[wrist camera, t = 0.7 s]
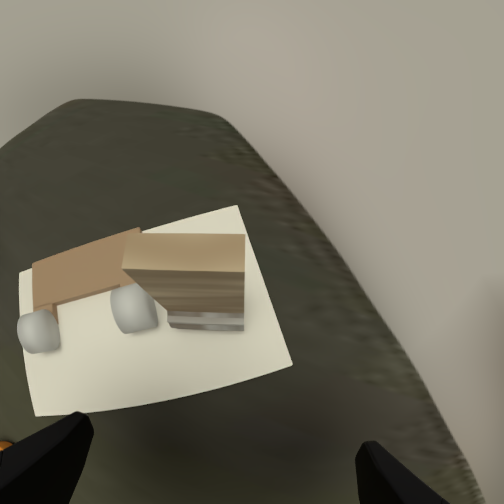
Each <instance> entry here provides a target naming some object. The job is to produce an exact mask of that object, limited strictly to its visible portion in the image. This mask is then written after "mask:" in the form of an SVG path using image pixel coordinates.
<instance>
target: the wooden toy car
mask: <svg viewBox="0 0 504 504" xmlns="http://www.w3.org/2000/svg"><path fill="white" fill-rule="evenodd" d="M121 269H122V270H123V271H124V272H125V273H126V274H128V275H129V276H130V277H131V278H132V279H133V280H134V281H135V282H136V283H137V284H138V285H139V286H140V287H141V288H142V289H143V290H145V291H146V292H147V293H148V294H149V295H150V296H151V297H152V298H153V299H154V300H156V301H157V302H158V303H159V304H160V305H161V306H162V307H163V308H165V309H166V310H167V322H168V323H169V325H170V327H171V328H177V329H192V330H216V331H244V288H245V234H205V233H128V235H127V240H126V245H125V251H124V256H123V262H122V268H121Z"/></svg>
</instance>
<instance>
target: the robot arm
mask: <svg viewBox="0 0 504 504" xmlns="http://www.w3.org/2000/svg"><path fill="white" fill-rule="evenodd" d="M93 435H94V429H93V426H92V424H91V421H90V419H89V416H88V415H87V414H85V413H82V412H80V411H75V412H73V413H71V414H70V415H68V416H66V417H64V418H62V419H61V420H59V421H57V422H55V423H53V424H51V425H49V426H48V427H46V428H44V429H42V430H40V431H38V432H36V433H34V434H32V435H31V436H29V437H27V438H25V439H23V440H21V441H19V442H17V443H15V444H13V445H11V446H9V447H7V448H5V449H3V450H1V451H0V504H69V502H70V499H71V497H72V495H73V492H74V490H75V487H76V485H77V483H78V480H79V478H80V475H81V473H82V471H83V468H84V465H85V462H86V458H87V455H88V452H89V448H90V445H91V442H92V438H93ZM355 464H356V474H357V485H358V495H359V501H360V504H450V503H449V502H448V501H446V500H445V499H444V498H442V497H441V496H440V495H439V494H437V493H436V492H435V491H434V490H433V489H431V488H430V487H429V486H428V485H426V484H425V483H424V482H423V481H422V480H420V479H419V478H418V477H417V476H416V475H415V474H413V473H412V472H411V471H410V470H409V469H408V468H406V467H405V466H404V465H403V464H402V463H401V462H399V461H398V460H397V459H396V458H395V457H394V456H393V455H391V454H390V453H389V452H388V451H387V450H386V449H385V448H384V447H382V446H381V445H380V444H379V443H378V442H377V441H367V442H364V443H363V444H362V445H361V447H360V449H359V451H358V453H357V455H356V458H355Z"/></svg>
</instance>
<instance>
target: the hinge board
mask: <svg viewBox="0 0 504 504" xmlns="http://www.w3.org/2000/svg"><path fill="white" fill-rule="evenodd" d="M128 233H205V234H245V288H244V331H216V330H192V329H177V328H171V327H170V325H169V323H168V322H167V310H166V309H165V308H163V307H162V306H161V305H160V304H159V303H158V302H157V301H156V300H154V299H153V298H152V297H151V296H150V295H149V294H148V293H147V292H146V291H145V290H143V289H142V288H141V287H140V286H139V285H138V284H137V283H136V282H135V281H134V280H133V279H132V278H131V277H130V276H129V275H128V274H126V273H125V272H124V271H123V270H122V269H121V268H122V262H123V256H124V251H125V245H126V240H127V235H128ZM19 304H20V318H19V320H18V324H17V332H18V337H19V340H20V342H21V344H22V346H23V353H24V360H25V367H26V373H27V379H28V384H29V390H30V394H31V399H32V403H33V408H34V412H35V416H52V415H67V414H71V413H73V412H75V411H80V412H82V413H89V412H98V411H106V410H113V409H120V408H127V407H133V406H139V405H145V404H150V403H156V402H161V401H166V400H171V399H175V398H180V397H184V396H189V395H193V394H197V393H201V392H205V391H209V390H213V389H217V388H221V387H224V386H228V385H232V384H235V383H239V382H242V381H245V380H249V379H252V378H255V377H258V376H262V375H265V374H268V373H271V372H274V371H277V370H280V369H283V368H286V367H289V366H292V365H293V364H292V361H291V358H290V355H289V352H288V350H287V347H286V344H285V341H284V338H283V335H282V332H281V329H280V327H279V324H278V321H277V318H276V315H275V312H274V309H273V307H272V304H271V301H270V298H269V295H268V292H267V289H266V286H265V284H264V281H263V278H262V275H261V272H260V269H259V266H258V264H257V261H256V258H255V255H254V252H253V249H252V246H251V244H250V241H249V238H248V235H247V232H246V229H245V226H244V224H243V221H242V218H241V215H240V212H239V209H238V206H237V205H235V206H231V207H227V208H223V209H220V210H216V211H212V212H208V213H205V214H201V215H197V216H194V217H190V218H187V219H183V220H179V221H176V222H172V223H169V224H166V225H162V226H159V227H155V228H152V229H149V230H145V231H141V229H140V228H139V227H138V228H135V229H131V230H128V231H125V232H122V233H119V234H116V235H112V236H109V237H106V238H103V239H100V240H97V241H94V242H91V243H88V244H85V245H82V246H79V247H76V248H73V249H71V250H68V251H65V252H62V253H59V254H56V255H54V256H51V257H48V258H45V259H43V260H40V261H37V262H35V263H32V268H31V269H29V270H26V271H23V272H21V273H19Z"/></svg>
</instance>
